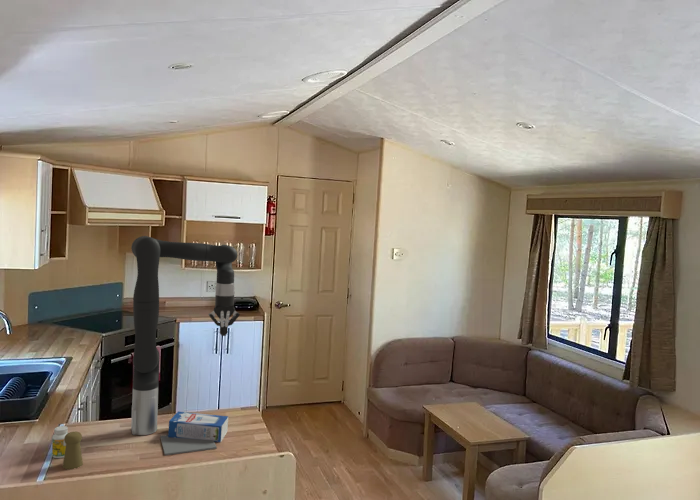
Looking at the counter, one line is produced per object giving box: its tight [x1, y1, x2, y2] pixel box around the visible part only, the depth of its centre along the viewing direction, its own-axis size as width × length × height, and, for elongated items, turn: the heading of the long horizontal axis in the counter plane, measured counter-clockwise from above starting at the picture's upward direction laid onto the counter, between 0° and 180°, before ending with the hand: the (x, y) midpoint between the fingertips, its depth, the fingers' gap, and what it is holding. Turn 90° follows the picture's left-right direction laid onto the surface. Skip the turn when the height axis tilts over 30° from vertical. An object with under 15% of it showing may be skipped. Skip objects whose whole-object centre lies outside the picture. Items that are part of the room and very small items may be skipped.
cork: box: [62, 431, 84, 470], centre depth 183 cm, size 6×6×11 cm
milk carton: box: [167, 410, 229, 443], centre depth 212 cm, size 10×6×20 cm
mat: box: [159, 434, 218, 456], centre depth 205 cm, size 18×16×1 cm
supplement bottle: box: [51, 425, 69, 459], centre depth 189 cm, size 5×5×10 cm
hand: (223, 335), depth 227 cm, fingers closed
